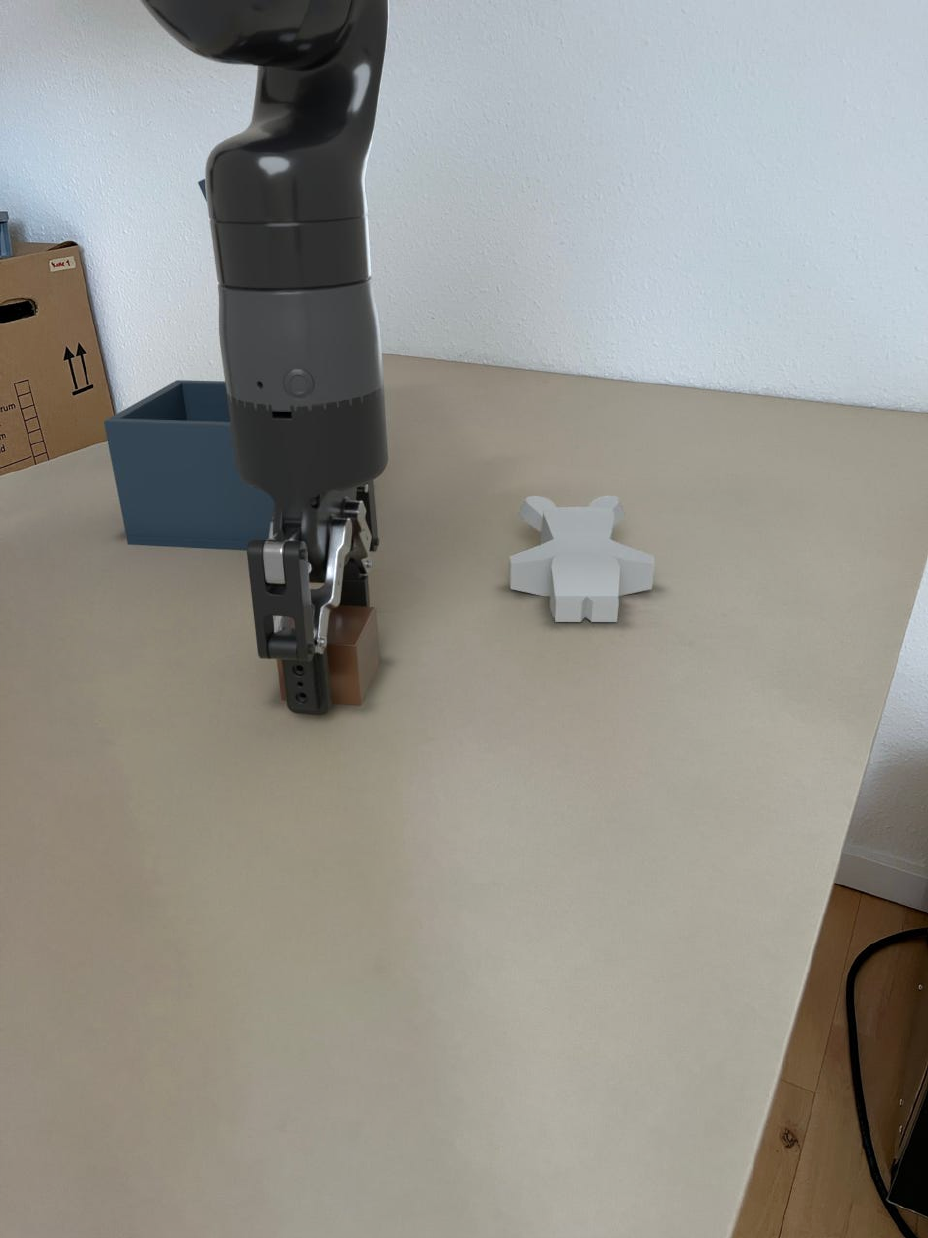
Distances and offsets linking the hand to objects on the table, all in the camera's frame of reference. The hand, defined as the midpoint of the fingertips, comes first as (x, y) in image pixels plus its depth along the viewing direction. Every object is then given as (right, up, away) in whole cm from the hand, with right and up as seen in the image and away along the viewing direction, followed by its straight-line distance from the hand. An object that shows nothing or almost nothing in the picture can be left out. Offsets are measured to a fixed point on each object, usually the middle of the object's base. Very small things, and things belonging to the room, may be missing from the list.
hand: (332, 669), depth 53 cm
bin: (-10, +11, +25) cm, 29 cm away
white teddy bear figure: (+15, +5, +13) cm, 21 cm away
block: (0, -1, +1) cm, 2 cm away
